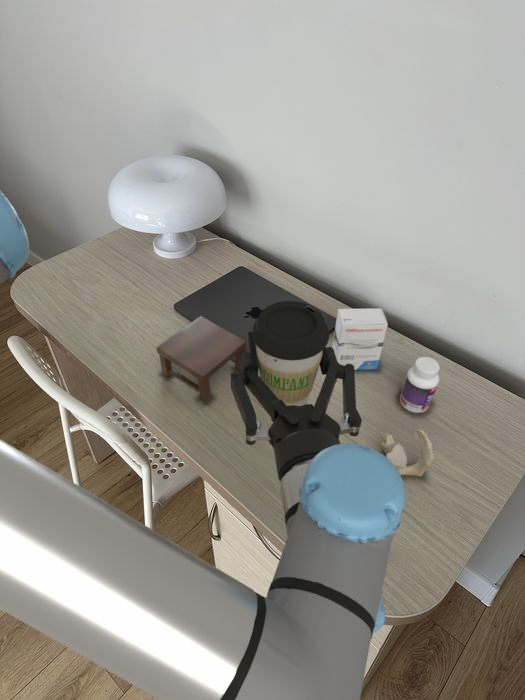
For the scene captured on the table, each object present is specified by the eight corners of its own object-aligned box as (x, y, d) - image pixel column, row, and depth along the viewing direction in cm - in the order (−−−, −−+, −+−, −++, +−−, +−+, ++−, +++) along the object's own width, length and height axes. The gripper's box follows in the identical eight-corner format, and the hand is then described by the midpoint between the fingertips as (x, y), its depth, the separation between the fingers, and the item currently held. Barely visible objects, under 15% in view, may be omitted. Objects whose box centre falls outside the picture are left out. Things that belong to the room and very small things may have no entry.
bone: (357, 463, 78) (390, 413, 74) (373, 453, 83) (404, 407, 79) (402, 500, 74) (439, 449, 70) (416, 488, 79) (450, 440, 75)
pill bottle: (428, 417, 87) (442, 379, 80) (397, 409, 88) (409, 371, 81) (430, 395, 90) (445, 357, 84) (401, 388, 91) (413, 350, 85)
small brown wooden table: (161, 374, 93) (156, 347, 88) (203, 342, 100) (200, 315, 95) (205, 403, 88) (202, 377, 83) (246, 367, 95) (246, 341, 90)
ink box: (372, 352, 98) (383, 306, 90) (377, 370, 95) (389, 324, 87) (330, 353, 98) (337, 307, 90) (334, 371, 94) (341, 325, 86)
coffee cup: (238, 399, 71) (235, 320, 61) (284, 366, 76) (289, 288, 66) (286, 439, 66) (293, 361, 56) (333, 400, 71) (347, 322, 61)
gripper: (215, 503, 54) (209, 360, 71) (401, 486, 56) (354, 351, 73) (211, 465, 49) (206, 321, 65) (417, 448, 51) (362, 311, 67)
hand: (283, 337), depth 69 cm, fingers closed on coffee cup, 9 cm apart
